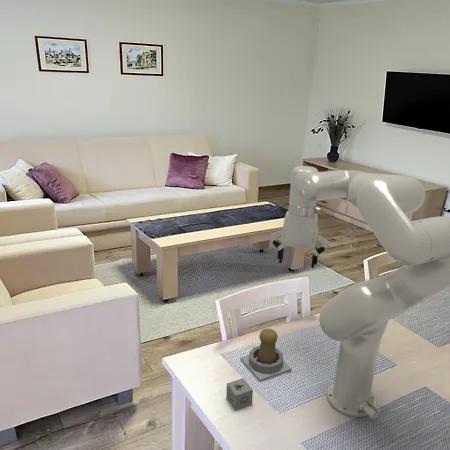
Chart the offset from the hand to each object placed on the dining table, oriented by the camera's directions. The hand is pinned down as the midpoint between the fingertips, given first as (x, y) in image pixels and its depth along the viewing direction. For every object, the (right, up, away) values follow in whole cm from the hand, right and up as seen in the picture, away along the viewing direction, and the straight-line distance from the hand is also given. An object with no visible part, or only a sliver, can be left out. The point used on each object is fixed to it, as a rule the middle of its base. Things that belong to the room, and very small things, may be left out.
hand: (296, 263), depth 128 cm
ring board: (-10, -30, -1) cm, 32 cm away
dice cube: (-18, -35, -15) cm, 43 cm away
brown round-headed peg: (-9, -29, -2) cm, 31 cm away
